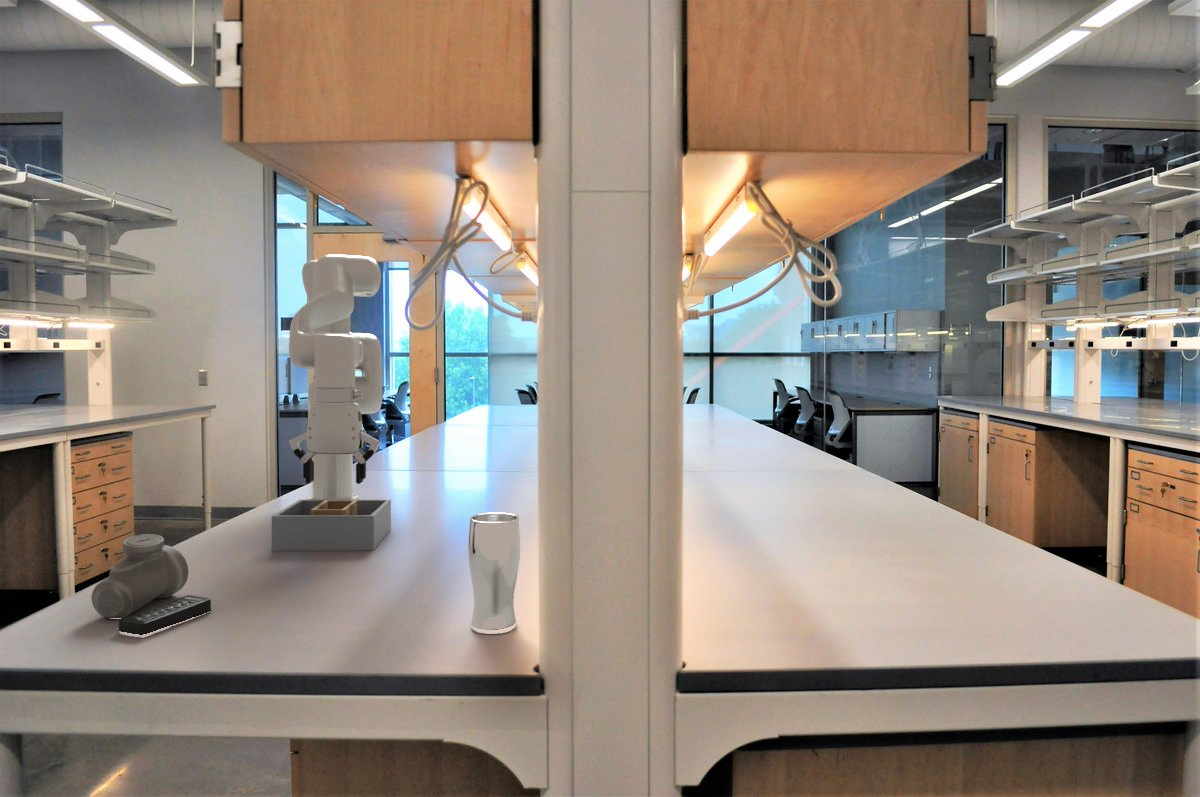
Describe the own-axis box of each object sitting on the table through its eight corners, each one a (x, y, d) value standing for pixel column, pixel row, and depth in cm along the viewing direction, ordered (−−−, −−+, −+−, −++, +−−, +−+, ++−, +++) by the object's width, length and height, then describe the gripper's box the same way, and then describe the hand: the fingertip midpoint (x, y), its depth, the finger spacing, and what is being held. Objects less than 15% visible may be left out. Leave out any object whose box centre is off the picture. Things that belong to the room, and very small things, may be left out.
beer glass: (515, 637, 97) (516, 523, 96) (462, 635, 97) (463, 522, 96) (522, 618, 104) (523, 512, 103) (473, 617, 104) (473, 511, 103)
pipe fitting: (140, 589, 112) (139, 525, 111) (190, 596, 112) (190, 531, 110) (78, 626, 101) (76, 555, 99) (135, 633, 100) (133, 562, 98)
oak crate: (325, 529, 152) (325, 500, 151) (357, 529, 152) (357, 500, 152) (310, 540, 142) (310, 509, 141) (345, 540, 142) (345, 509, 142)
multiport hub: (116, 637, 96) (116, 619, 95) (188, 610, 106) (188, 594, 106) (142, 641, 94) (142, 623, 94) (212, 614, 105) (212, 598, 104)
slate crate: (299, 530, 154) (299, 499, 154) (390, 530, 156) (390, 499, 156) (271, 550, 138) (271, 516, 138) (373, 550, 140) (373, 516, 139)
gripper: (383, 396, 150) (383, 479, 152) (295, 394, 149) (296, 478, 150) (375, 398, 143) (375, 486, 144) (283, 397, 141) (283, 485, 143)
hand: (334, 482), depth 147 cm, fingers open, 9 cm apart
